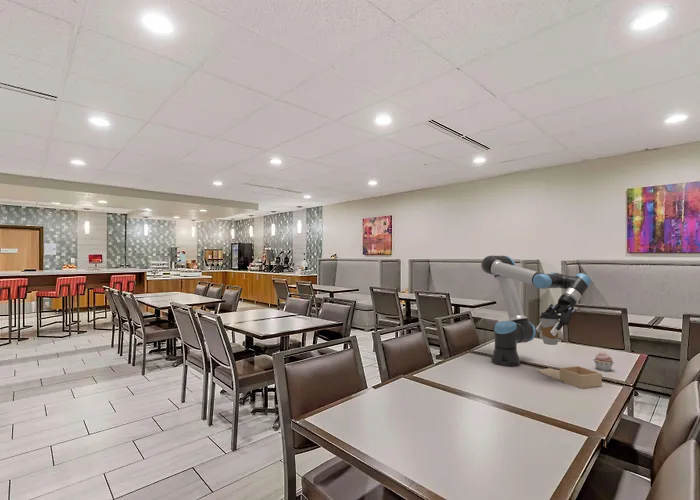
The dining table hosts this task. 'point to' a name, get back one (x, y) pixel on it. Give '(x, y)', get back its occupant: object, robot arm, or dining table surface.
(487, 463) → the dining table surface
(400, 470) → the dining table surface
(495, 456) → the dining table surface
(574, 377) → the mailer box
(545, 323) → the coffee cup
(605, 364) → the cupcake
